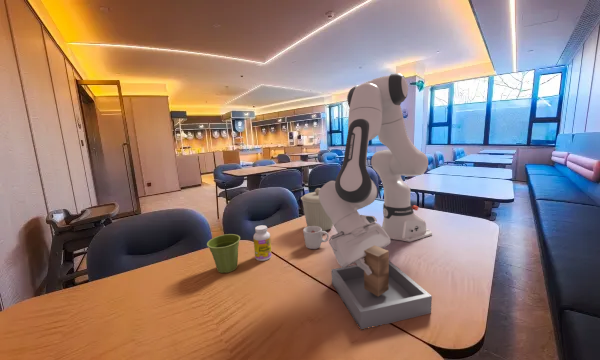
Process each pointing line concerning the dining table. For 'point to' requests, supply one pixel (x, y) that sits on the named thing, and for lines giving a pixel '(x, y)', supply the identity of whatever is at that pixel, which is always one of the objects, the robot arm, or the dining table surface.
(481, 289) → the dining table surface
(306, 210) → the canister
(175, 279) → the dining table surface
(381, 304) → the bin
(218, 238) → the plant pot
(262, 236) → the supplement bottle
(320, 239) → the cup
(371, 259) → the walnut block
